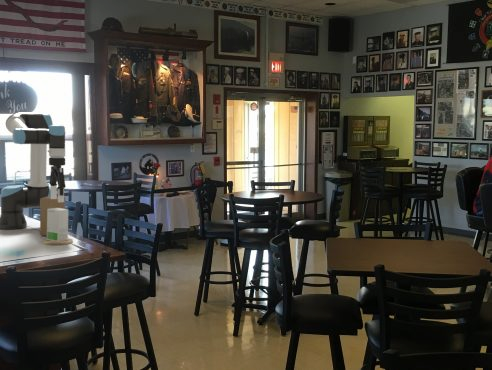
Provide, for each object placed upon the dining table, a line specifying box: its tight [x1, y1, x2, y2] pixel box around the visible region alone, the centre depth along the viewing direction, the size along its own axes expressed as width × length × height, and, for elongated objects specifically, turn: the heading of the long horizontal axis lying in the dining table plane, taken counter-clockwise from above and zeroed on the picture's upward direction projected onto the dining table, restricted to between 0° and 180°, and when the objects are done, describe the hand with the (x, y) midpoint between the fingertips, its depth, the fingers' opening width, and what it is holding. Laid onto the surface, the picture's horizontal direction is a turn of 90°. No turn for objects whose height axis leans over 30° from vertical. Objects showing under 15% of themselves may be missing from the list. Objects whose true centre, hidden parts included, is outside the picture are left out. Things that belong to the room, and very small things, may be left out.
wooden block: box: [39, 196, 66, 237], centre depth 293 cm, size 10×10×20 cm
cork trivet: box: [42, 237, 74, 246], centre depth 275 cm, size 14×14×1 cm
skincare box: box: [46, 208, 69, 242], centre depth 274 cm, size 8×7×16 cm
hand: (57, 200), depth 273 cm, fingers open, 13 cm apart
